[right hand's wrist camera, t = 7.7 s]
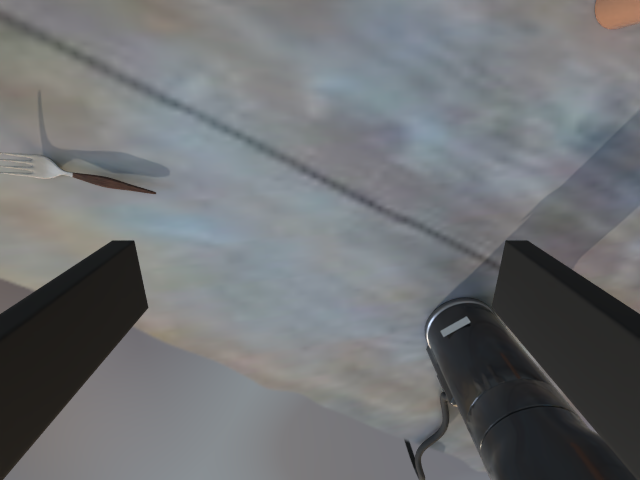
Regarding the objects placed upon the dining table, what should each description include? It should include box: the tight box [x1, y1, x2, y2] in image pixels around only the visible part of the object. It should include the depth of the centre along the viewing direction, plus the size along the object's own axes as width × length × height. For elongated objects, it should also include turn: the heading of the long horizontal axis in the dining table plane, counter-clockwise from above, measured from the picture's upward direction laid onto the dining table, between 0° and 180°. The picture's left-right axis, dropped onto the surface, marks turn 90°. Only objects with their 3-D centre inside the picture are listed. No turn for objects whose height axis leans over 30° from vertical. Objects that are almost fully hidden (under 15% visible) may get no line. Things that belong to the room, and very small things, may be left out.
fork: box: [0, 153, 156, 194], centre depth 38 cm, size 3×16×2 cm, turn 77°
